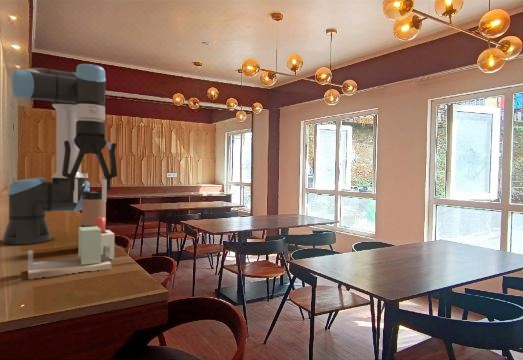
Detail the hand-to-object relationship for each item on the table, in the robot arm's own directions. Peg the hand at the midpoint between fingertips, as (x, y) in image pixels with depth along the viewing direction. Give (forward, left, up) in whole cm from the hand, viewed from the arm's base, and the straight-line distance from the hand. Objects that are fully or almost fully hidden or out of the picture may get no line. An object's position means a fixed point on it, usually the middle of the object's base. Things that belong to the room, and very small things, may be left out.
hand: (90, 201), depth 106 cm
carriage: (0, 0, -17) cm, 17 cm away
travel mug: (-24, +5, -19) cm, 31 cm away
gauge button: (-10, +4, -11) cm, 16 cm away
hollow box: (-10, +4, -19) cm, 22 cm away
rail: (0, -5, -19) cm, 20 cm away
